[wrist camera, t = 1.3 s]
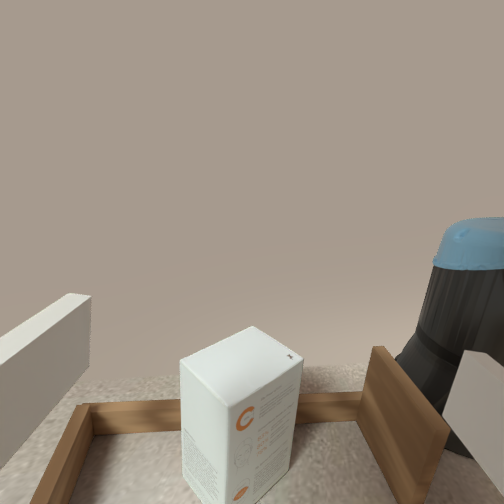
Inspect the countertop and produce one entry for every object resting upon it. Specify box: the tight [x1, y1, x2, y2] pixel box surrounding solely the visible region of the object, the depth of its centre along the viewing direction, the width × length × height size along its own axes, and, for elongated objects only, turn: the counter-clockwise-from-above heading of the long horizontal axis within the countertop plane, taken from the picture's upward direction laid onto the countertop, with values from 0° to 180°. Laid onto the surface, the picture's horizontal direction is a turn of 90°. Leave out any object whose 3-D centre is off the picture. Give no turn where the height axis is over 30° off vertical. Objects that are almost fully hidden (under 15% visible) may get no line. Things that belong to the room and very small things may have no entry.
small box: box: [180, 326, 304, 504], centre depth 28 cm, size 8×6×13 cm
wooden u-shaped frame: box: [30, 346, 451, 504], centre depth 29 cm, size 30×11×10 cm, turn 97°
